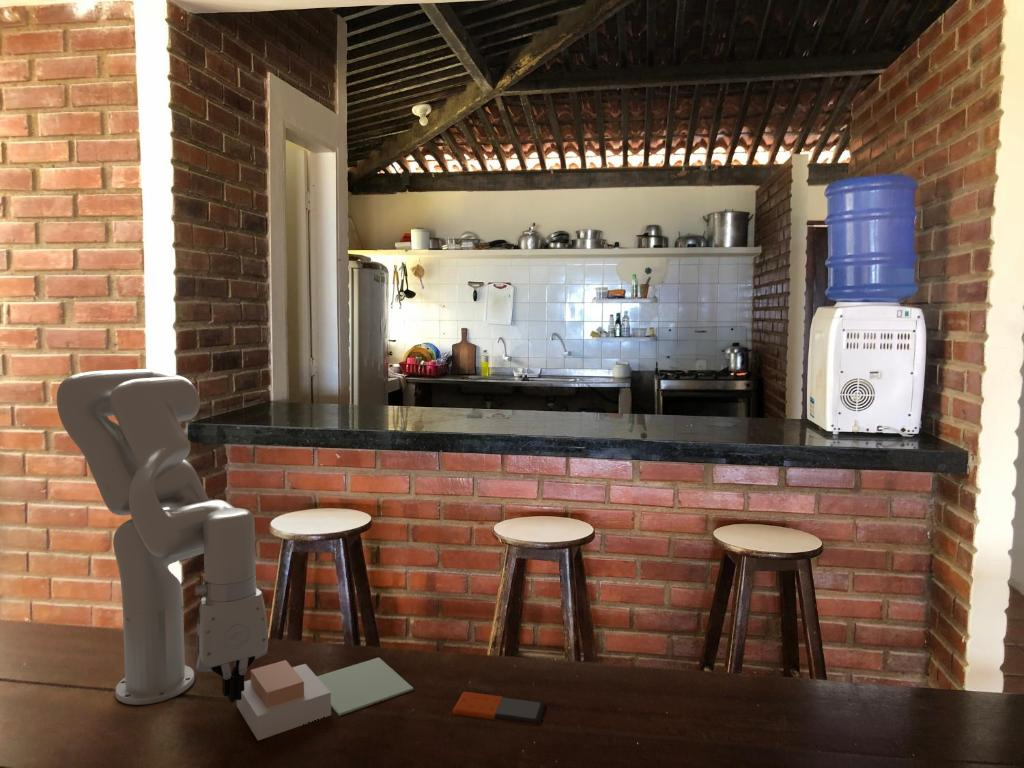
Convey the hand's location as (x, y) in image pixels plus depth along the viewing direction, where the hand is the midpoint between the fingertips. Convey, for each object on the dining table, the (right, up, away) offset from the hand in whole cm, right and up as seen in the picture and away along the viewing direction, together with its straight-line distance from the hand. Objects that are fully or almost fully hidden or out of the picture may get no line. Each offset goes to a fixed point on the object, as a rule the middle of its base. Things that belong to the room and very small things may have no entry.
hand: (233, 697), depth 110 cm
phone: (+43, -6, +6) cm, 44 cm away
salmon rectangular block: (+6, -1, +4) cm, 7 cm away
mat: (+18, -4, +14) cm, 23 cm away
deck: (+6, -5, +5) cm, 9 cm away
